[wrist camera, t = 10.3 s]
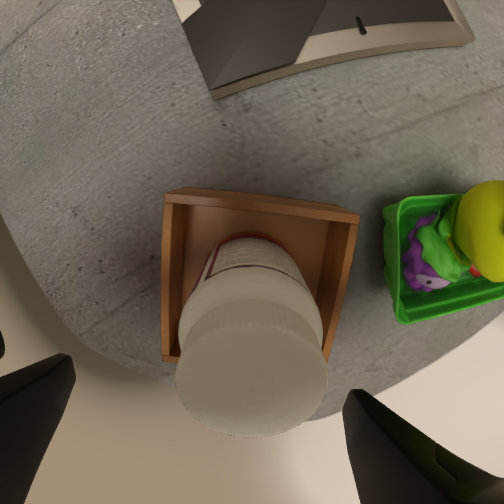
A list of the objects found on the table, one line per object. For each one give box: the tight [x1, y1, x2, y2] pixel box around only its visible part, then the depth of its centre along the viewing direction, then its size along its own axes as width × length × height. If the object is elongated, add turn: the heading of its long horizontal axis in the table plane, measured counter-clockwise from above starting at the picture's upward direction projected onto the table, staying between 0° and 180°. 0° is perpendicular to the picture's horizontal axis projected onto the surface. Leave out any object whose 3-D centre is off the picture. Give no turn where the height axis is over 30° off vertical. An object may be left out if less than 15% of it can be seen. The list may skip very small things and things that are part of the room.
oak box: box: [161, 187, 360, 364], centre depth 18 cm, size 10×10×4 cm
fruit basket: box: [382, 180, 504, 325], centre depth 15 cm, size 11×9×11 cm
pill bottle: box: [175, 232, 329, 438], centre depth 15 cm, size 6×6×11 cm
